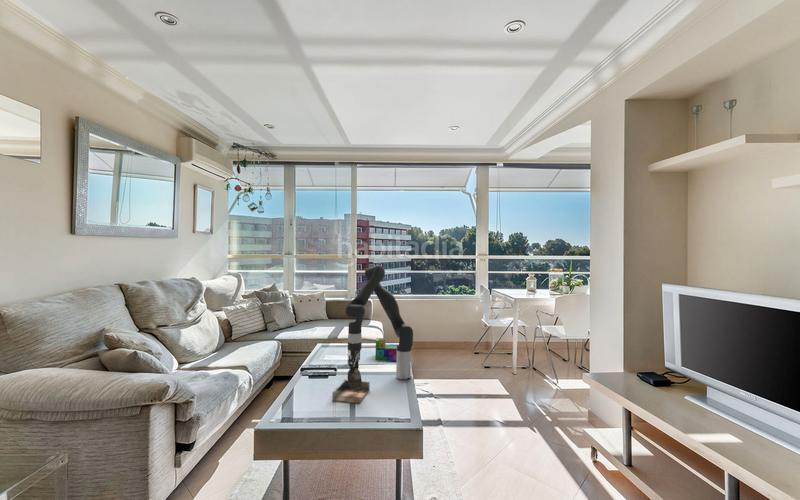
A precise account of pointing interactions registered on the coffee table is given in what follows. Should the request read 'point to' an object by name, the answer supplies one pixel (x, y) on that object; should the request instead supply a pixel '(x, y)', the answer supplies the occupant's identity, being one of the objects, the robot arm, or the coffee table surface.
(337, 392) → the corner walls
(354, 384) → the alarm clock
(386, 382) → the coffee table surface
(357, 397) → the walnut plate
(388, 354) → the block puzzle
